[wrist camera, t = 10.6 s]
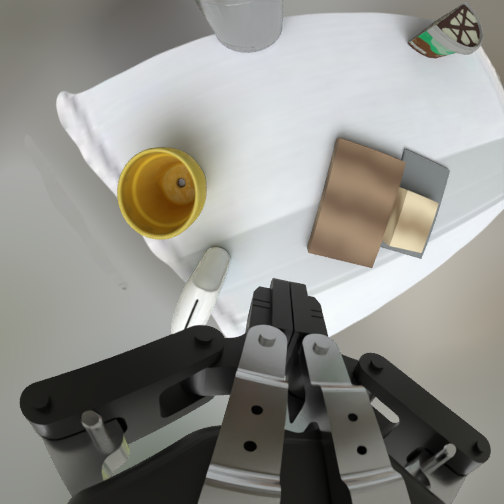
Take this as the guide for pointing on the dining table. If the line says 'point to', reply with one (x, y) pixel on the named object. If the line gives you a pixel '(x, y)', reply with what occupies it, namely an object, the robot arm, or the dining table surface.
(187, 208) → the plant pot
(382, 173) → the brown wooden block
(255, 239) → the dining table surface
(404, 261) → the dining table surface
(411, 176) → the mat
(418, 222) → the cream flat block
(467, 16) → the food container
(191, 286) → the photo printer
